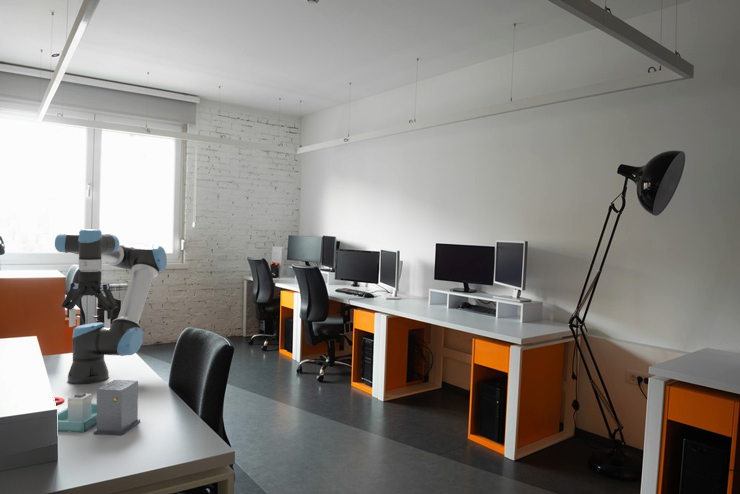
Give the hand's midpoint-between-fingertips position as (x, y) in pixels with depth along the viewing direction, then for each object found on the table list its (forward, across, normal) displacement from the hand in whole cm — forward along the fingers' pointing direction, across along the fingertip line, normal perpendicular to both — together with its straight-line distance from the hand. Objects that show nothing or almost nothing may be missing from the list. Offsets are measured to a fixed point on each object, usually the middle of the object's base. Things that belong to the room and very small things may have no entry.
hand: (89, 327), depth 193 cm
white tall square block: (+26, +11, -23) cm, 37 cm away
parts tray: (+27, +11, -23) cm, 37 cm away
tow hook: (+27, -10, -8) cm, 30 cm away
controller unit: (+27, +26, -27) cm, 46 cm away
